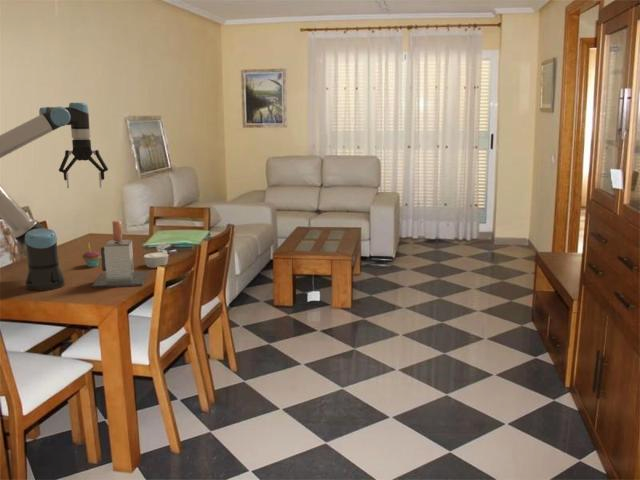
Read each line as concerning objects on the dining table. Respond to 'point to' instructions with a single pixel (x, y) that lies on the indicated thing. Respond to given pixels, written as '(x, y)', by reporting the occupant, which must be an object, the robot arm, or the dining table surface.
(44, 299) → the dining table surface
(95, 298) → the dining table surface
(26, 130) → the robot arm
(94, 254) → the cupcake
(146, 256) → the ramekin
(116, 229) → the salmon orange cylinder
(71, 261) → the dining table surface
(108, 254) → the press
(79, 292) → the dining table surface
